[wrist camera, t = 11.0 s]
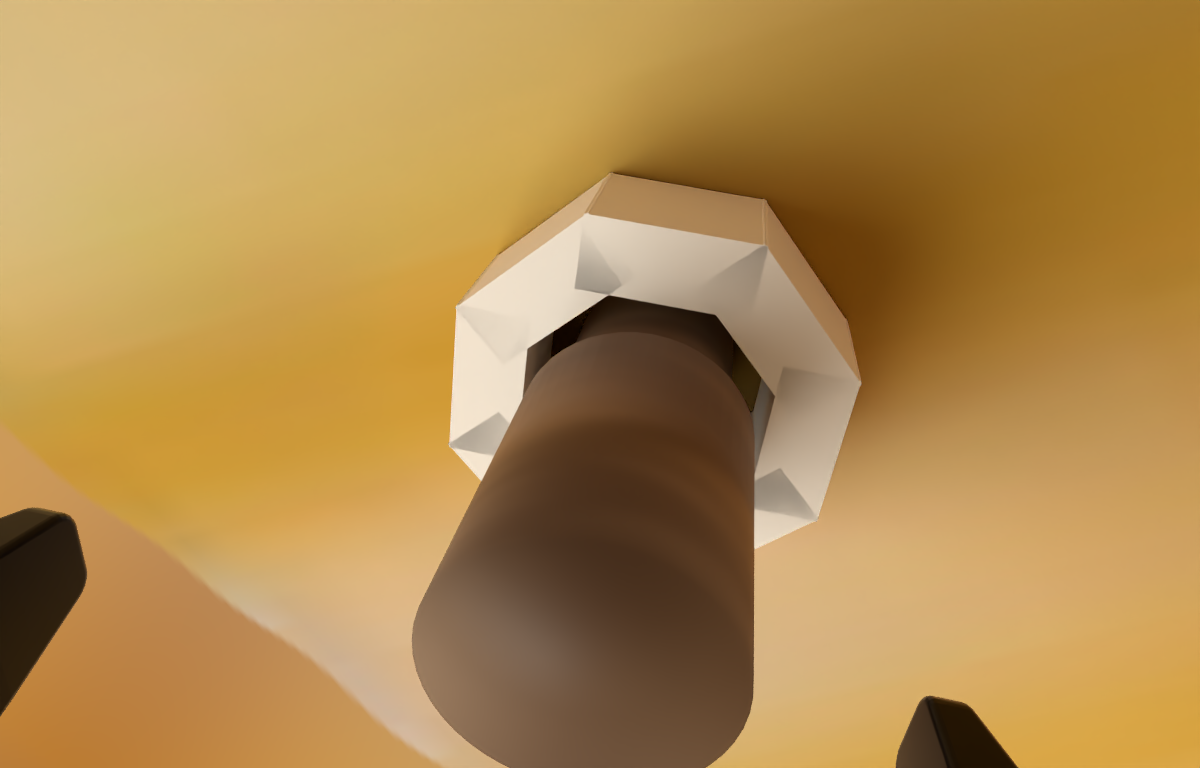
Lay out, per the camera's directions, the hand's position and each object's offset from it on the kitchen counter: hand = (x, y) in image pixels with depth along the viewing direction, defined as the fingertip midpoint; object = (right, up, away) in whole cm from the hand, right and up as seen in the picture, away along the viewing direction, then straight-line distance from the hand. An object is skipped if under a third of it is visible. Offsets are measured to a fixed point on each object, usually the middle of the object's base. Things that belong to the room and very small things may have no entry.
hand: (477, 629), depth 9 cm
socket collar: (+3, +3, +11) cm, 12 cm away
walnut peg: (+3, +3, +11) cm, 12 cm away
